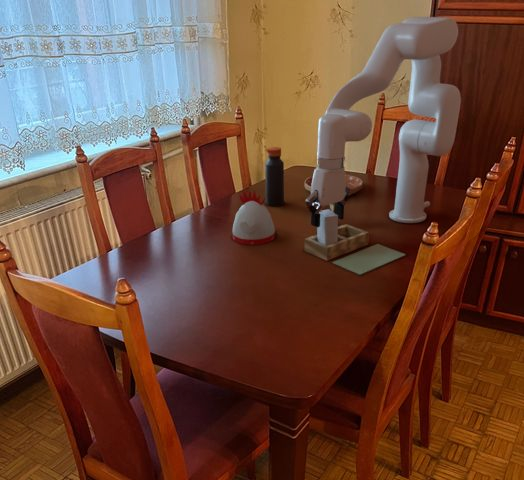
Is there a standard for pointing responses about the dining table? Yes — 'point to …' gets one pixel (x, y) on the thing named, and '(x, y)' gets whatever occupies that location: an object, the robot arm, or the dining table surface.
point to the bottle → (274, 177)
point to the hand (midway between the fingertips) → (327, 222)
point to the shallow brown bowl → (350, 182)
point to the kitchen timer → (253, 222)
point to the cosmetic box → (327, 228)
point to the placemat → (368, 259)
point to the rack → (338, 243)
